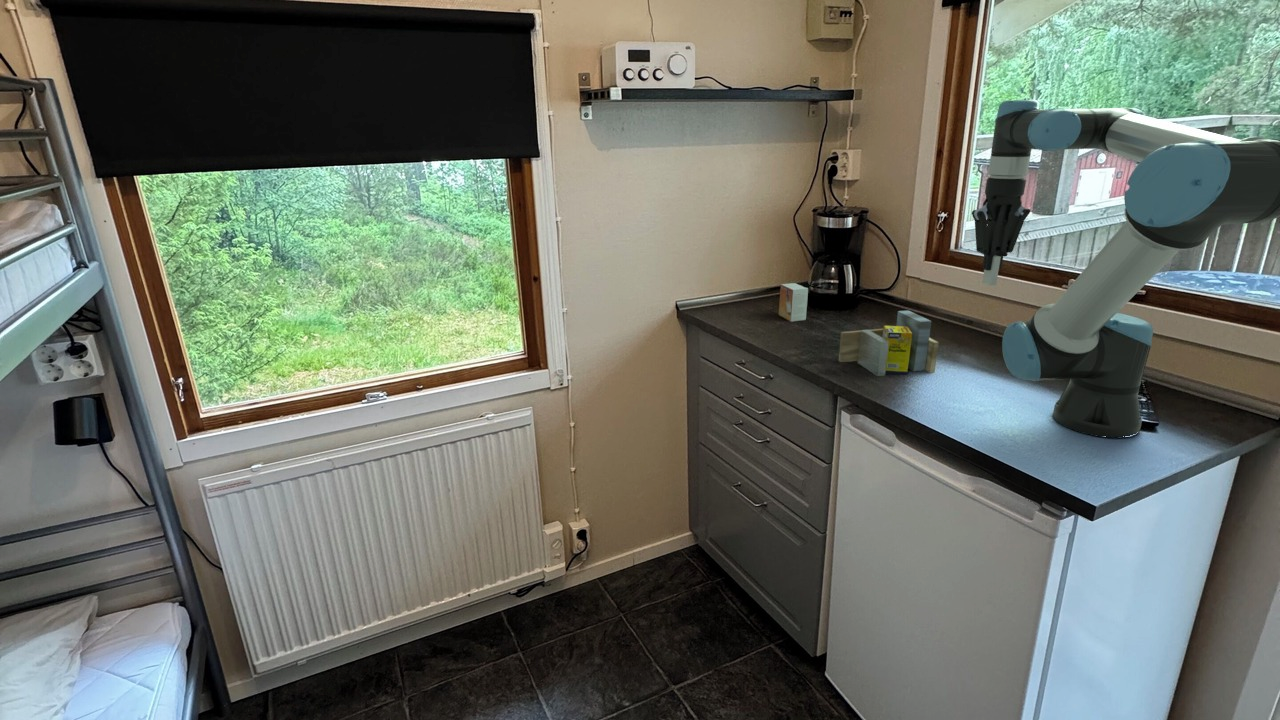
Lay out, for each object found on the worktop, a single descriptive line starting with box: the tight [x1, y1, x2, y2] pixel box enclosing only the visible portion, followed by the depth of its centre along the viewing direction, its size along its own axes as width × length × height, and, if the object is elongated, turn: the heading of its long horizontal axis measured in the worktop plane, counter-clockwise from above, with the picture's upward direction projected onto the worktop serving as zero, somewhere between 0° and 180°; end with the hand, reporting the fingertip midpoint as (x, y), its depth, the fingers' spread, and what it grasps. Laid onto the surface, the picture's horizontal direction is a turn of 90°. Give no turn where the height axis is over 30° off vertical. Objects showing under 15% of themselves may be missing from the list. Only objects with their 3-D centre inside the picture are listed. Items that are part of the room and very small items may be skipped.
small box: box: [778, 282, 809, 323], centre depth 212 cm, size 8×6×10 cm
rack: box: [838, 310, 939, 374], centre depth 168 cm, size 14×19×13 cm
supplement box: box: [882, 325, 912, 375], centre depth 166 cm, size 6×6×11 cm
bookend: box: [857, 329, 889, 377], centre depth 167 cm, size 10×2×9 cm, turn 11°
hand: (989, 283), depth 150 cm, fingers closed
